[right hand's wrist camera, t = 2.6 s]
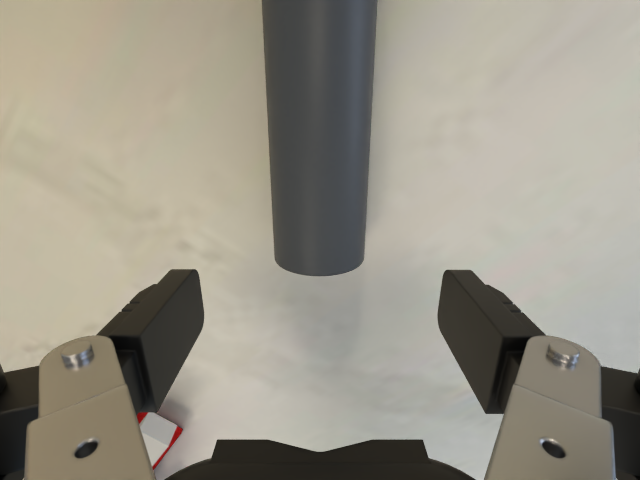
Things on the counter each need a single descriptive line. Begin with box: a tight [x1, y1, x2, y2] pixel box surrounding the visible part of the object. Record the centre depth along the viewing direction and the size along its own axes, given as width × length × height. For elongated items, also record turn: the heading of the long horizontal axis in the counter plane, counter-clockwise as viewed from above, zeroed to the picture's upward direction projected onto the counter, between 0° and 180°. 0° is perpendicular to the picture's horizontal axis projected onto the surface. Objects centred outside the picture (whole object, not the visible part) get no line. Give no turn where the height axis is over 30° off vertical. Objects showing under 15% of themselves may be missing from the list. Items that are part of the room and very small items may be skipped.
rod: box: [262, 0, 377, 276], centre depth 19 cm, size 26×6×6 cm, turn 0°
